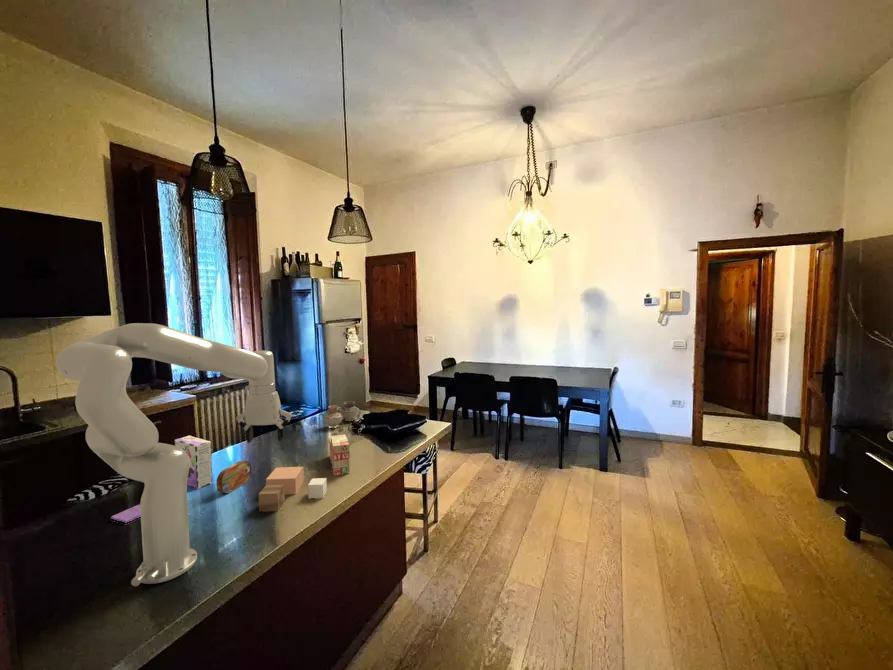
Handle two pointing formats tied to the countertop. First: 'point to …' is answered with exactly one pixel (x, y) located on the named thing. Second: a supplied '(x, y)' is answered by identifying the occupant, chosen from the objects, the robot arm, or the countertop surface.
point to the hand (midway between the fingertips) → (265, 440)
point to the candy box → (197, 460)
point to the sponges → (128, 514)
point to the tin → (233, 477)
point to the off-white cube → (317, 488)
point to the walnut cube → (271, 498)
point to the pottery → (345, 412)
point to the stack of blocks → (339, 454)
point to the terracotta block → (287, 478)
